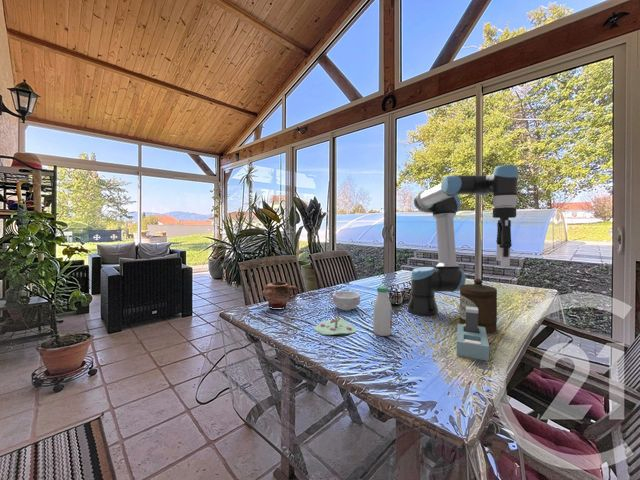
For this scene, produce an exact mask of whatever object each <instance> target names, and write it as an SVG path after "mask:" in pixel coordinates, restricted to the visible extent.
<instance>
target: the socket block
mask: <svg viewBox="0 0 640 480" xmlns="http://www.w3.org/2000/svg"><path fill="white" fill-rule="evenodd" d="M456 329H457V330H456V331H457V333H456V356H459V357H465V358H470V359H476V360H481V361H487V362H489V361H490V344H489V340H488V339H489V338H488V335H487V334H488V333H486V330H485V327H480V326H478V331H477V333H472V332H466V324H459V323H457V328H456Z"/></svg>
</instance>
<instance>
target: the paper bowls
mask: <svg viewBox="0 0 640 480" xmlns="http://www.w3.org/2000/svg"><path fill="white" fill-rule="evenodd" d="M332 303H333V305H335V306H336V308H337V309H338V308H339V309H338V310H340V309H342V310H341V311H352V310H351V309H353V310H355V309H356V308H357V306H359V305H360V303H361V295H360V293H358V292H356V291H355V292H354V291H349V290H339V291H336V292H334V293H332ZM354 308H355V309H354Z"/></svg>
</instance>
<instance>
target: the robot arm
mask: <svg viewBox="0 0 640 480" xmlns="http://www.w3.org/2000/svg"><path fill="white" fill-rule="evenodd" d="M518 171H519V170H518V166H517V165H516V164H505V165H504V164H503V165H497V166H495V167H494V169H493V173H492V174H488V175H477V174H476V175H475V174H474V175H472V174H471V175H463V174H461V175H460V174H459V175H456V174H451V175H446V176H444V177H443V179H442V180H441V182H440V183H439V184H437V185H435V186H433V187H432V188H429V189H424V190H421V191H419V192H418V193H417V194H415V196H414V197H413V198H414V199H413V204H414V206H415V208H416V209H417V210H418V211H420V212H421V213H426V214H429V213H430V214H432V217H433V219H435V223H436V224H435V226H436V240H437V241H436V242H437V258H438V259H437V264H436V265H435V267H433V266H420V267H415V268H414V269H412V270H411V276H410V279H411V285H410V286H411V287H410V291H411V294H410V298H409V301H408V304H407V312H408V313H410V314H413V315H415V316H423V317H424V316H426V317H427V316H428V317H431V316H436V315H438V313H439V309H438V304H437V302H436V298H435V297H436V296H435V294H436V293H442V292H443V293H445V292H451V293H454V292H460V286H461V285H465V284H466V274H465V272H464V270H463V269H461V267H460V265H459V264H458V263H457V256H456V255H457V254H456V242H455V241H456V240H455V238H456V237H455V227H454V218H455V216H456V215H457V213H458V212H459V211H460V208H461V200H460V196H459V195H479V196H484V195H485V196H487V195H490V194H492V195H493V196H492V207H493V209H492V218H493V219H499V220H497V223H496V224H497V225H496V227H497V229H496V230H497V232H496V233H497V234H496V240H495V241H496V258H495V259H496V262H500V266H501V267H510V266H511V265H510V264H511V262H510V261H511V247H512V245H513V244H512V230H511V229H512V220H511V219H510V218H514V219H515V218H516V217H517V208H516V206H517V203H518V202H517V201H519V197H517V195H518V179H519V178H518V177H519V174H518Z"/></svg>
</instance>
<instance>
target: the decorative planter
mask: <svg viewBox="0 0 640 480" xmlns="http://www.w3.org/2000/svg"><path fill="white" fill-rule="evenodd" d="M292 290H293V291H295V293H294V295H292V296H291V291H292ZM298 293H299V290H298V287H297V286H295V285H289V284H288V282H283V281H276V282H275V281H274V282H270V283H268V284H266V285H265V287H264V290H262V292H261V295H262V296H263V297H264V299H266V300H267V303H268V308H269V307H272V308H283V307H286V308H287V302H291V300H293V299H294V298H295V297H297V295H298Z"/></svg>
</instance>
